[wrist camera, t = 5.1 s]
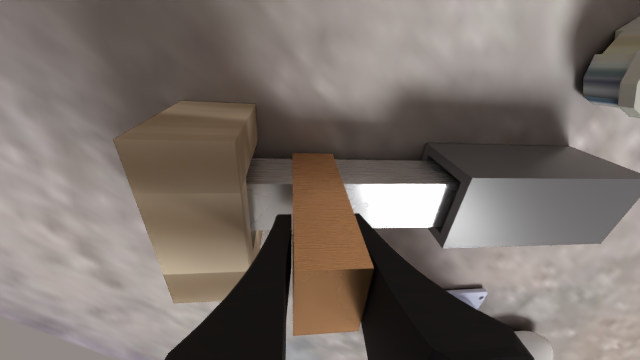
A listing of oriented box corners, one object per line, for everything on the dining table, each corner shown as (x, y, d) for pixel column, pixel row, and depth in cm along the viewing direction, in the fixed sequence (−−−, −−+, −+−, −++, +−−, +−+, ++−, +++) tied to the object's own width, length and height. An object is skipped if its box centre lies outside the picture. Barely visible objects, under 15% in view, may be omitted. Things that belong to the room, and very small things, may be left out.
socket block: (263, 226, 18) (252, 299, 13) (207, 227, 18) (173, 303, 13) (255, 103, 14) (234, 141, 9) (181, 100, 14) (112, 139, 8)
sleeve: (536, 201, 20) (600, 243, 16) (409, 202, 19) (442, 248, 15) (569, 146, 18) (655, 179, 14) (426, 142, 16) (472, 178, 12)
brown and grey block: (452, 199, 18) (569, 316, 11) (229, 200, 16) (174, 344, 9) (469, 156, 17) (624, 257, 9) (222, 151, 15) (146, 277, 7)
